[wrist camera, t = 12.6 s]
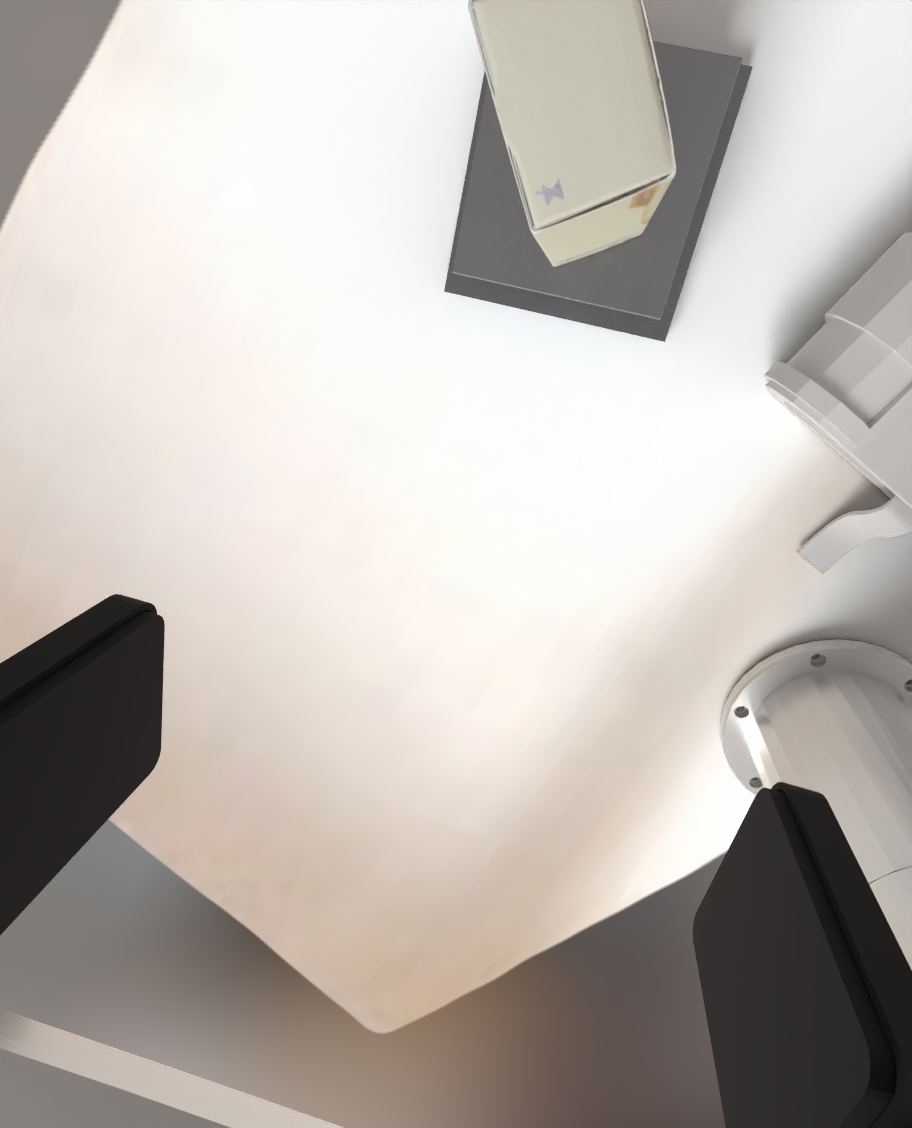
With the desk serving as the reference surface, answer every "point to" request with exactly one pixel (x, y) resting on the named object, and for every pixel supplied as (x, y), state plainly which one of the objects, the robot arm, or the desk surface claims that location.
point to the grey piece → (627, 270)
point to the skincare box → (578, 117)
